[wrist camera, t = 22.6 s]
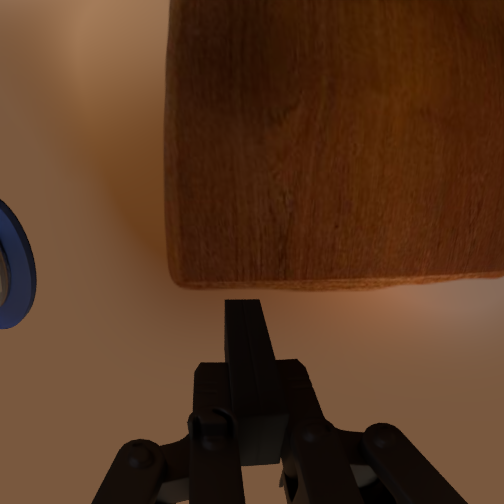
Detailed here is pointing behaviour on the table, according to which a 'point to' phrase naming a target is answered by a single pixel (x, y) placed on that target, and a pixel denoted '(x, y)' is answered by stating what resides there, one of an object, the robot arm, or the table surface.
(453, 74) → the table surface
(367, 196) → the table surface
